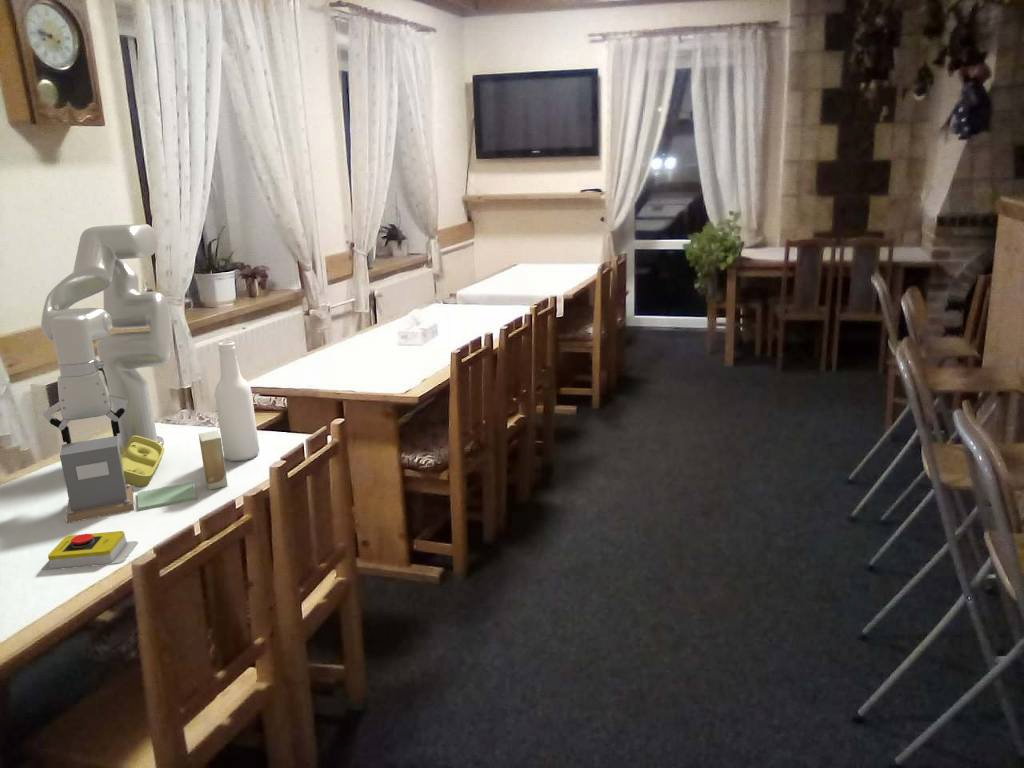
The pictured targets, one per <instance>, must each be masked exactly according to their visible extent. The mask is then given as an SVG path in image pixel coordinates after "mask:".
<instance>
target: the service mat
mask: <svg viewBox="0 0 1024 768" xmlns="http://www.w3.org/2000/svg"><path fill="white" fill-rule="evenodd" d="M195 489H196V488H195V485H194V482H193V481H190V482H184V483H179V484H174V485H170V486H164V487H159V488H153V489H149V490H143V491H139V492H137V507H138V508H137V509H138V511H143V510H147V509H152V508H157V507H163V506H168V505H172V504H173V505H174V504H177V503H183V502H184V503H185V502H188V501H194V500H197V493H196V490H195Z"/></svg>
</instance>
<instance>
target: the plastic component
mask: <svg viewBox="0 0 1024 768" xmlns="http://www.w3.org/2000/svg"><path fill="white" fill-rule="evenodd" d="M164 453H165V448H164V446H163V445H161V444H159V443H158V442H156V441H153V440H150V439H147V438H144V437H140V436H137V435H136V436H132V437H131V439H130V440H129V442H128V444H127V445H126V447H125V449H124V450H123V452H122V454H121V459H122V464H123V469H124V475H125V480H126V484H129V485H130V486H131V485H132V486H134V487H135V486H136V487H140V488H141V487H143V488H144V487H146V486H148V485H150V482H151V481H152V479H153V477H154V475H155V474H156V471H157V470H158V468H159V466H160V463H161V461H162V458H163V456H164Z"/></svg>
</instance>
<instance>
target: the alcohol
mask: <svg viewBox="0 0 1024 768" xmlns="http://www.w3.org/2000/svg"><path fill="white" fill-rule="evenodd" d="M235 344H236V343H235V342H234V341H231V340H230V341H221V342H219V343H218V344H217V346H218V348H217V349H218V351H219V362H220V363H219V365H220V368H219V369H220V377H219V378H220V380H219V381H218V383H217V384H216V386H215V390H214V398H215V406H216V410H217V419H218V426H219V432H220V433H219V434H220V437H221V443H222V450H223V457H224V459H226V460H227V461H229V460H230V461H229V462H243V460H245V461H249V460H252V459H254V458H256V457H257V456H258V455H259V453H260V444H259V437H258V431H257V429H258V428H257V422H256V421H257V420H256V417H255V409H254V401H253V399H254V398H253V394H252V388H251V386H250V383H249V382H248V381H247V380H246V378H245V379H244V378H243V376H242V374H241V370H240V366H239V362H238V358H237V354H236V346H235ZM255 456H256V457H255ZM253 457H254V458H253ZM251 458H252V459H251ZM248 459H249V460H248Z"/></svg>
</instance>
